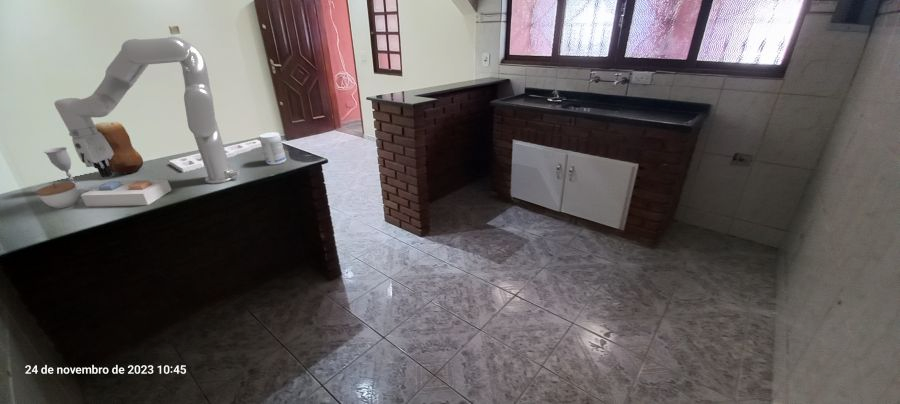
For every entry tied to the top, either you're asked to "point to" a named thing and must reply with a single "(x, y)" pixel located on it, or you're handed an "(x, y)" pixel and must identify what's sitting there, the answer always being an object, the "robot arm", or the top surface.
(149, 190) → the key panel
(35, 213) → the top surface
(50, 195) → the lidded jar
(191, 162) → the holder
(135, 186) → the terracotta key
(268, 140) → the supplement tub
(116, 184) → the slate-blue key
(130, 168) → the butternut squash
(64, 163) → the chalice
